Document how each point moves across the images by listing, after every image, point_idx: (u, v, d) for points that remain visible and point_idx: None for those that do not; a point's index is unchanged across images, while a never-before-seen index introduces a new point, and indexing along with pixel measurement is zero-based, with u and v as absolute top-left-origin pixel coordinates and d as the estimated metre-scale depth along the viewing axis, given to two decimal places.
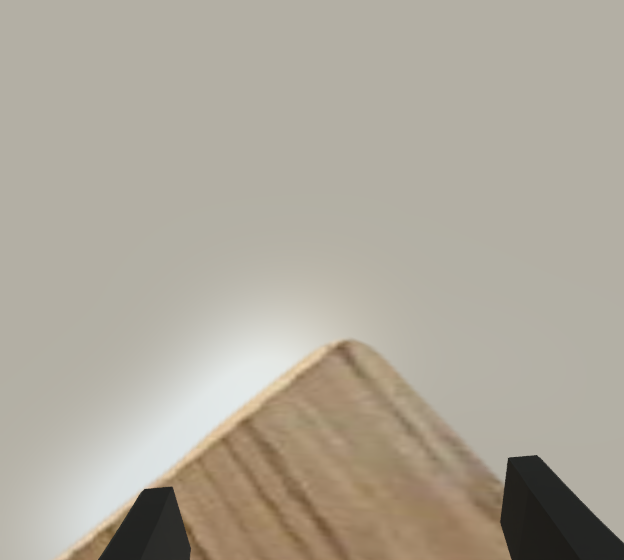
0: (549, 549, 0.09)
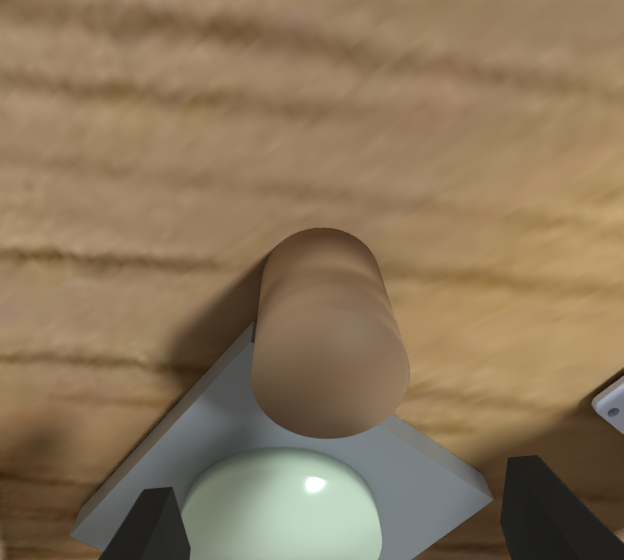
0: (549, 549, 0.09)
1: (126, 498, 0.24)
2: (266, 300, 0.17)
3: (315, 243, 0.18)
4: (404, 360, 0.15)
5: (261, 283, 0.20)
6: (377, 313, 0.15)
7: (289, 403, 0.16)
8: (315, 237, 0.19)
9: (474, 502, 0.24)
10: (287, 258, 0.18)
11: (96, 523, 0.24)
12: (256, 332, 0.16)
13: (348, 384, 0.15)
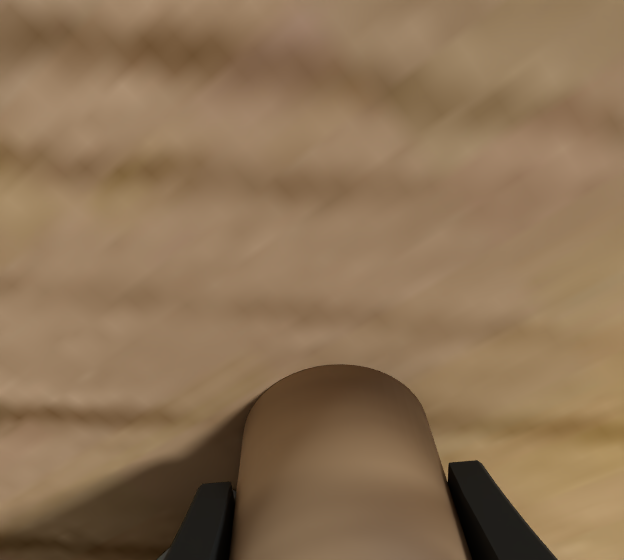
0: (480, 555, 0.09)
1: None
2: (244, 535, 0.09)
3: (330, 407, 0.11)
4: None
5: (241, 454, 0.12)
6: None
7: None
8: (329, 391, 0.11)
9: None
10: (282, 437, 0.11)
11: None
12: None
13: None
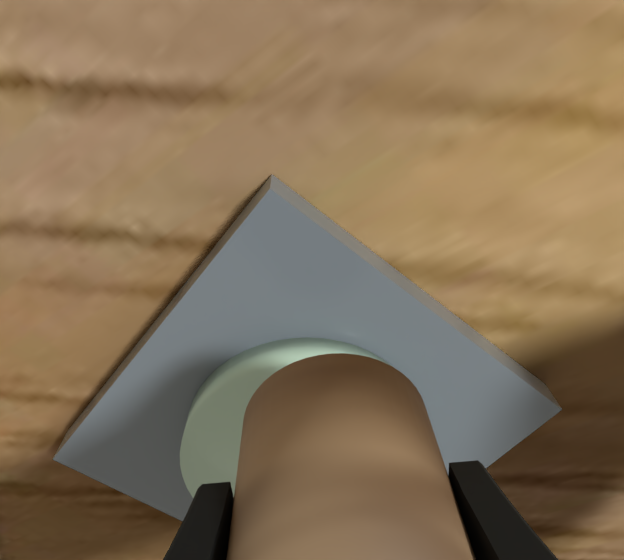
0: (480, 554, 0.09)
1: (119, 409, 0.20)
2: (245, 516, 0.09)
3: (332, 393, 0.11)
4: None
5: (241, 440, 0.12)
6: None
7: None
8: (331, 378, 0.11)
9: (538, 412, 0.20)
10: (284, 421, 0.11)
11: (84, 442, 0.20)
12: None
13: None
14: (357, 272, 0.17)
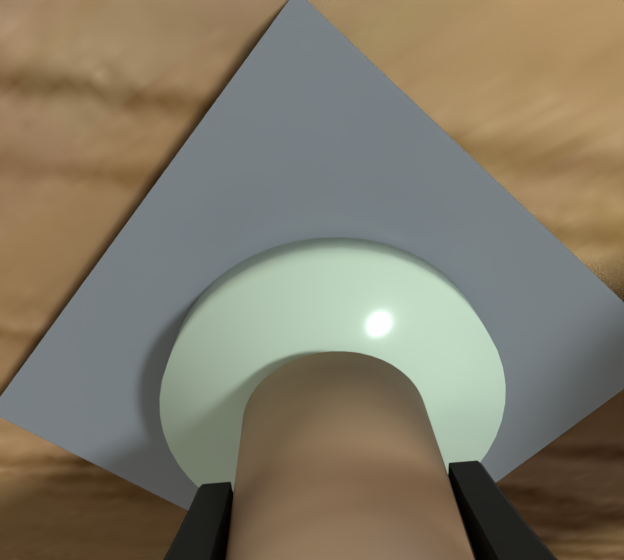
0: (480, 555, 0.09)
1: (79, 340, 0.14)
2: (245, 511, 0.09)
3: (333, 390, 0.11)
4: None
5: (240, 437, 0.12)
6: None
7: None
8: (332, 376, 0.11)
9: None
10: (284, 418, 0.11)
11: (32, 388, 0.15)
12: None
13: None
14: (416, 135, 0.12)
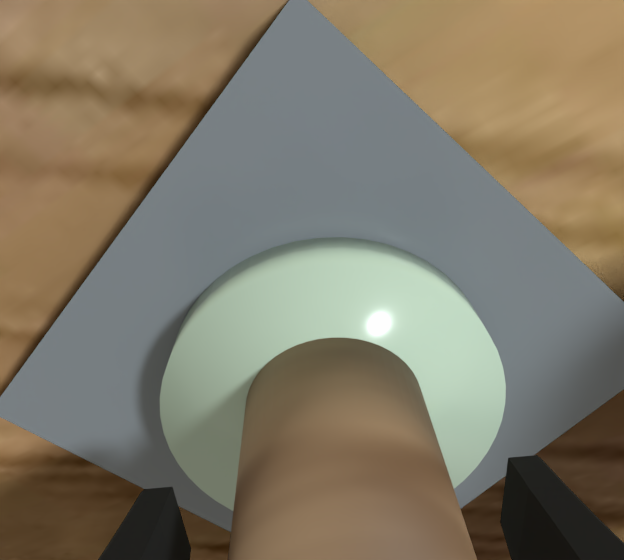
0: (549, 549, 0.09)
1: (79, 340, 0.14)
2: (250, 488, 0.10)
3: (332, 374, 0.11)
4: None
5: (244, 420, 0.13)
6: None
7: None
8: (332, 361, 0.12)
9: None
10: (286, 400, 0.11)
11: (32, 388, 0.15)
12: (230, 554, 0.09)
13: None
14: (416, 135, 0.12)
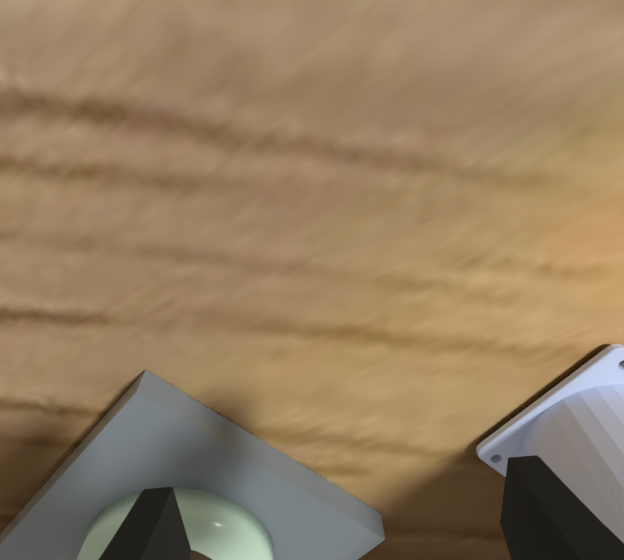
0: (549, 549, 0.09)
1: (31, 533, 0.25)
2: None
3: None
4: None
5: None
6: None
7: None
8: None
9: (366, 541, 0.26)
10: None
11: (5, 555, 0.25)
12: None
13: None
14: (209, 446, 0.22)
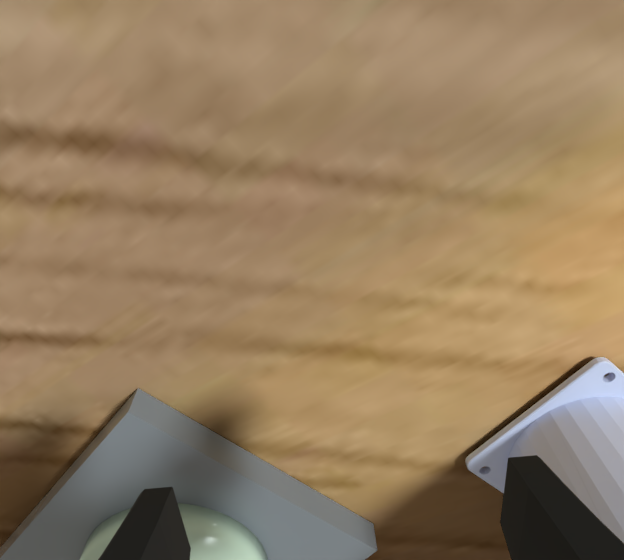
0: (549, 549, 0.09)
1: (29, 548, 0.25)
2: None
3: None
4: None
5: None
6: None
7: None
8: None
9: (359, 552, 0.26)
10: None
11: None
12: None
13: None
14: (201, 462, 0.23)
